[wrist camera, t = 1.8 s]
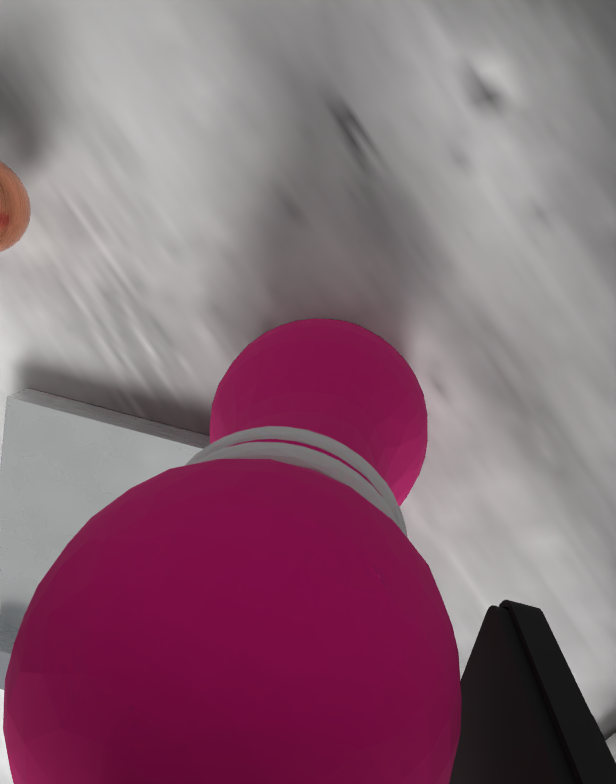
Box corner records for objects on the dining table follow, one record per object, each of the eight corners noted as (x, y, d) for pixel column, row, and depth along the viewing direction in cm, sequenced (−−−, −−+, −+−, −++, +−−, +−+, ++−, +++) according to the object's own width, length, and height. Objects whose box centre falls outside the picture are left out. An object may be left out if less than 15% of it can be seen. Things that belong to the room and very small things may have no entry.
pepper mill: (227, 322, 23) (-546, 693, 4) (405, 292, 22) (635, 597, 3) (261, 485, 25) (-155, 1346, 5) (429, 465, 23) (679, 1457, 4)
